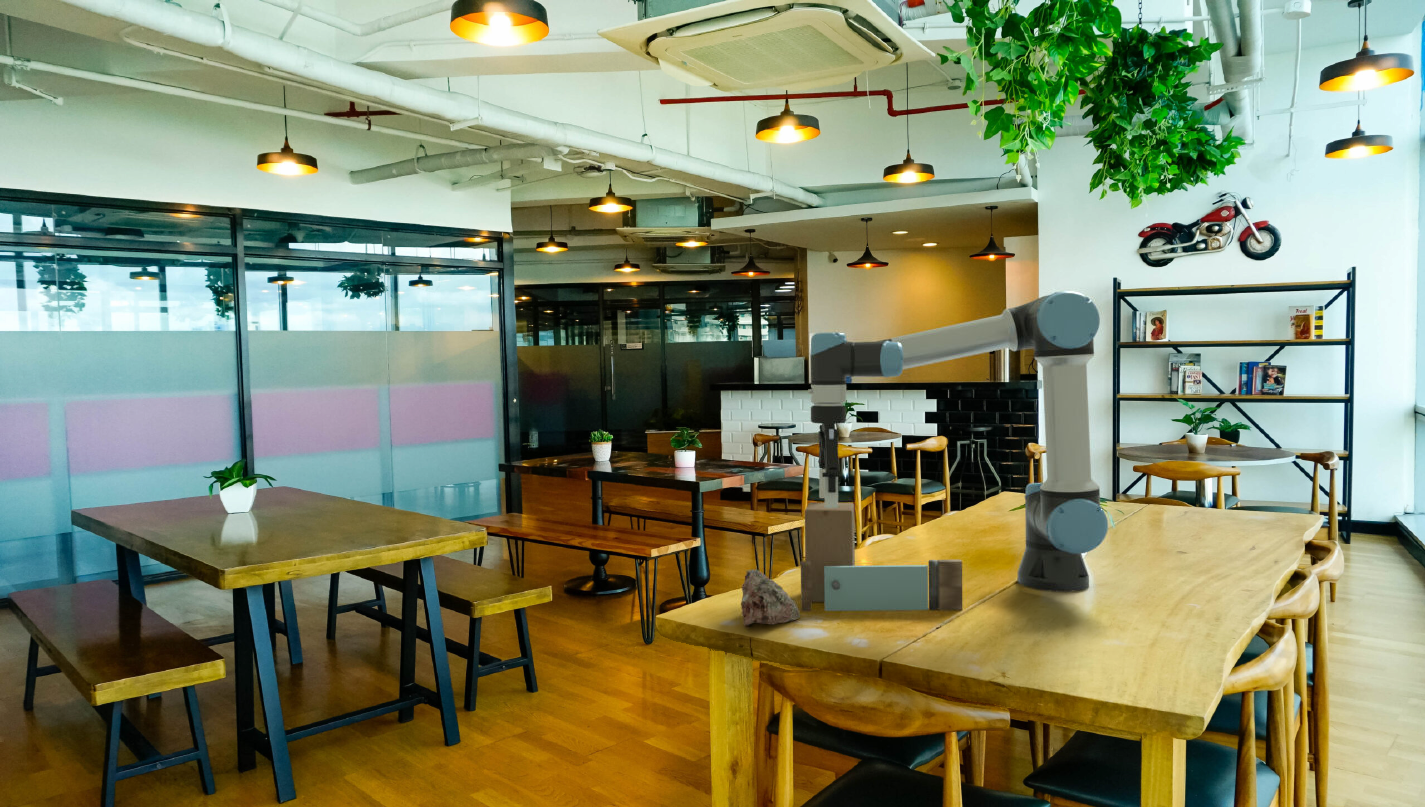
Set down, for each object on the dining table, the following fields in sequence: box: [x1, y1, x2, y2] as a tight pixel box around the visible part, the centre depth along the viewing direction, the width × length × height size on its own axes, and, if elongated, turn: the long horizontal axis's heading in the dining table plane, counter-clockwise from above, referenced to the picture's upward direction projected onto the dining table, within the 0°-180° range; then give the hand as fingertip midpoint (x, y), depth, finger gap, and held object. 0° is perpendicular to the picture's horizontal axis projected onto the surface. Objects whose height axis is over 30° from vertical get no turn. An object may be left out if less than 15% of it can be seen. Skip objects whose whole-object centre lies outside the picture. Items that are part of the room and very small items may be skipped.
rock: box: [740, 569, 800, 627], centre depth 178 cm, size 16×11×15 cm
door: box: [824, 564, 929, 612], centre depth 183 cm, size 21×3×9 cm, turn 88°
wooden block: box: [804, 502, 856, 604], centre depth 194 cm, size 10×10×20 cm
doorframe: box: [800, 559, 963, 612], centre depth 184 cm, size 33×2×10 cm, turn 88°
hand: (828, 502), depth 194 cm, fingers open, 13 cm apart
